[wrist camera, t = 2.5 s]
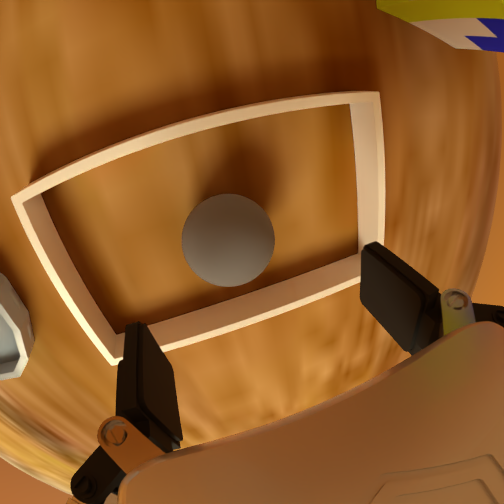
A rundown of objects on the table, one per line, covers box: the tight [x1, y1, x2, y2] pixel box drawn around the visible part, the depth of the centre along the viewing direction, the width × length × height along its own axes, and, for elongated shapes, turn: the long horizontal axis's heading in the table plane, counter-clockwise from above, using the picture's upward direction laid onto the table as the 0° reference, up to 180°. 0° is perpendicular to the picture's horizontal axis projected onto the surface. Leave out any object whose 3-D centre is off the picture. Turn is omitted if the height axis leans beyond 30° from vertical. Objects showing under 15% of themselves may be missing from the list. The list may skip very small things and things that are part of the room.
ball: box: [182, 194, 275, 287], centre depth 16 cm, size 5×5×5 cm
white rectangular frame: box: [11, 91, 385, 366], centre depth 17 cm, size 13×21×2 cm, turn 101°
